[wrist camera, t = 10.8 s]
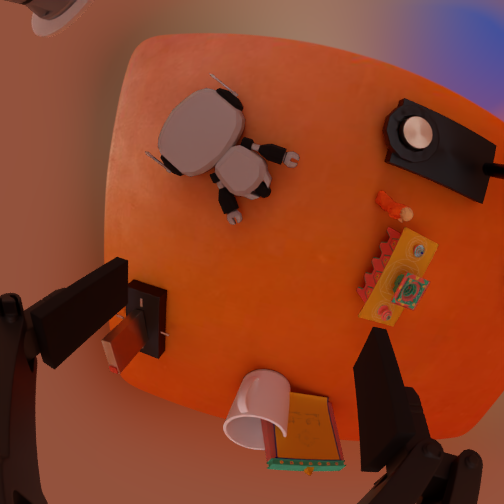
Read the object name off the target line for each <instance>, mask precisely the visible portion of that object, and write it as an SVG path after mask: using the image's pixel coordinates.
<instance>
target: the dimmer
mask: <svg viewBox="0 0 504 504" xmlns="http://www.w3.org/2000/svg"><path fill="white" fill-rule="evenodd" d="M166 299H167V290H164V289H161V288H158V287H155V286H152V285H148V284H145V283H142V282H139V281H136V280H132V281H131V282H130V283H128V304H127V305H126V317H127V316H128V315H129V314H130V313H131V312H132V311H133V310H134V309H137V310H142V311H143V313H144V319H145V324H146V329H147V334H148V339H149V340H148V341H147V343H146V344H145V345H144V346H143V347H142V349H141V350H140V352H142V353H145V354H147V355H150V356H152V357H155V358H157V359H159V358H160V356H161V355H162V354H163V352H164V351H165V335H167V336H169V334H168V333H165V323H166ZM116 316H117V317H120V318H122V319H124V317H123V316H120V315H118V314H116Z"/></svg>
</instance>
